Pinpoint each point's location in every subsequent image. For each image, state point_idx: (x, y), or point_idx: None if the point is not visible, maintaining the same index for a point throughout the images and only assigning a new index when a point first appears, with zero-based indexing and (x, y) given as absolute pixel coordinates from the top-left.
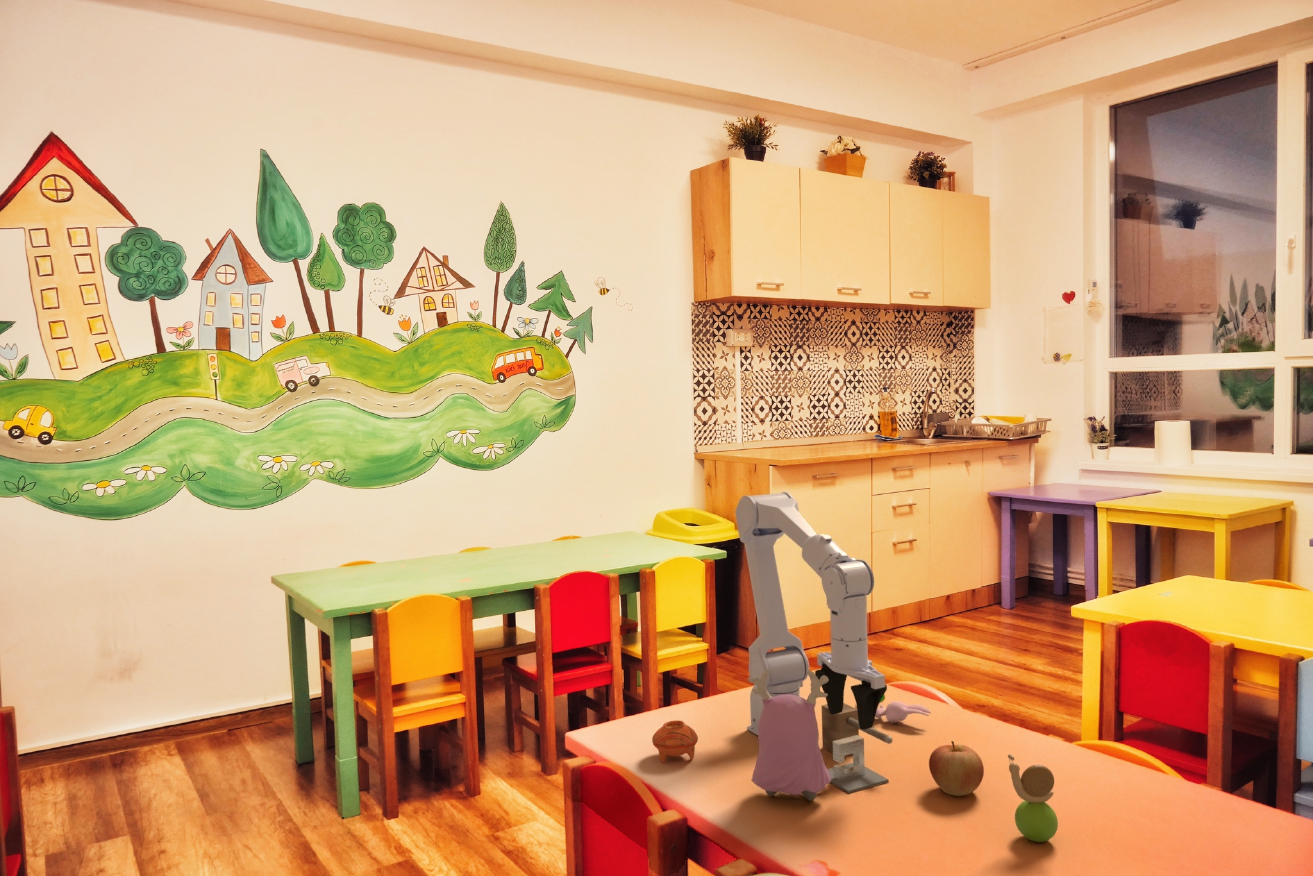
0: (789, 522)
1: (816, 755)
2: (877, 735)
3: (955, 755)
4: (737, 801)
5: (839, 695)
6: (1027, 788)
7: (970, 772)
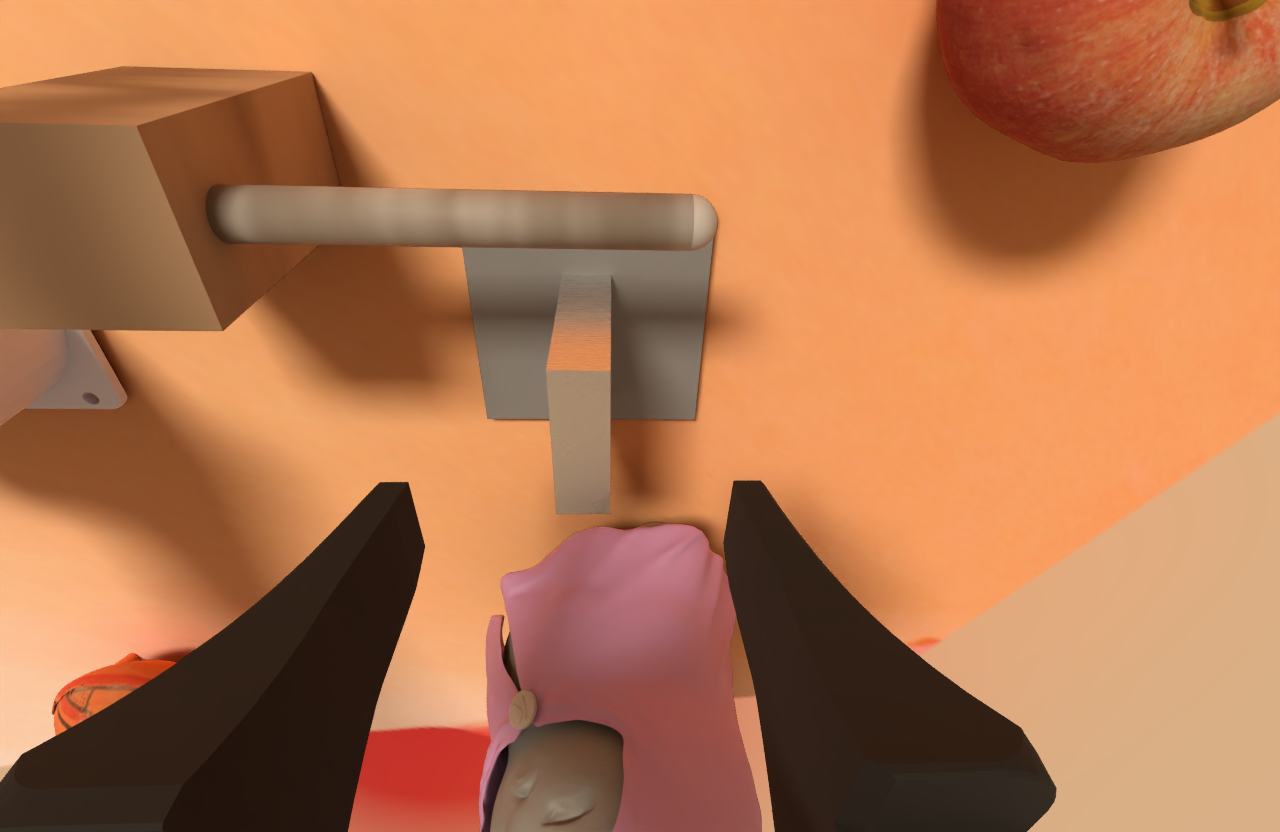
0: None
1: (724, 686)
2: (597, 248)
3: None
4: None
5: (361, 604)
6: None
7: None
